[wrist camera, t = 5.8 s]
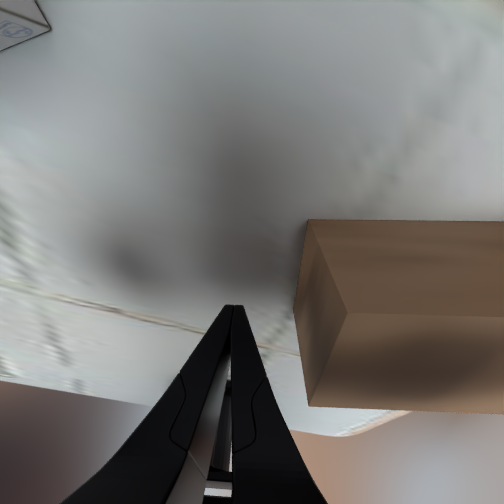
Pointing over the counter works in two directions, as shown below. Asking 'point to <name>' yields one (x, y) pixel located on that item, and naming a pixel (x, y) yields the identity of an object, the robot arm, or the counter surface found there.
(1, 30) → the light bulb box
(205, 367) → the robot arm
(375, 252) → the walnut block
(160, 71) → the counter surface
